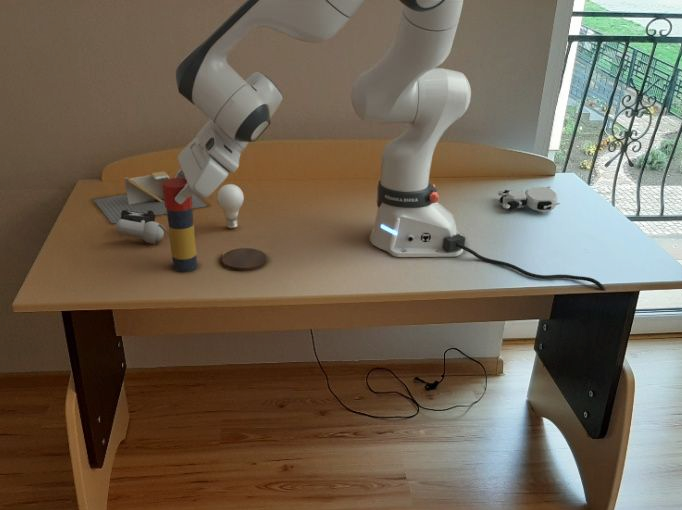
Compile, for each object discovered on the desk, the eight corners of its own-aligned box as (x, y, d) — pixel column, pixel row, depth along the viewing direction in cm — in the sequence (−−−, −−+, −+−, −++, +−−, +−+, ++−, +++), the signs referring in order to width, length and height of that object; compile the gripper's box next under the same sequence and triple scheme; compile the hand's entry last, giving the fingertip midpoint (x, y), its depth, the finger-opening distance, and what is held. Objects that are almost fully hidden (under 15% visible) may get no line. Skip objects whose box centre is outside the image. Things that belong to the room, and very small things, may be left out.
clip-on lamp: (195, 238, 171) (120, 223, 167) (199, 213, 168) (123, 198, 164) (191, 254, 160) (111, 239, 157) (195, 229, 157) (114, 212, 154)
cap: (195, 202, 146) (193, 178, 143) (187, 212, 141) (185, 188, 138) (170, 200, 146) (167, 177, 143) (161, 210, 141) (158, 186, 139)
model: (172, 201, 182) (168, 173, 178) (132, 208, 178) (128, 179, 173) (167, 197, 185) (164, 169, 180) (128, 204, 180) (124, 175, 176)
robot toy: (502, 218, 181) (560, 217, 180) (503, 202, 178) (562, 200, 177) (495, 201, 191) (550, 199, 190) (497, 185, 188) (553, 183, 187)
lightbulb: (214, 229, 168) (210, 186, 162) (229, 221, 173) (226, 178, 166) (235, 235, 165) (233, 191, 159) (250, 226, 170) (248, 183, 164)
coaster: (270, 252, 158) (270, 249, 158) (261, 272, 150) (261, 269, 149) (228, 249, 159) (227, 246, 158) (216, 269, 151) (216, 265, 150)
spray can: (200, 262, 153) (194, 194, 144) (193, 273, 149) (186, 203, 140) (177, 260, 154) (169, 192, 145) (169, 271, 149) (161, 201, 141)
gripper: (198, 120, 146) (156, 169, 148) (215, 149, 129) (168, 203, 132) (220, 139, 149) (179, 187, 152) (240, 170, 133) (194, 223, 136)
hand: (174, 195), depth 142 cm, fingers closed on cap, 5 cm apart
